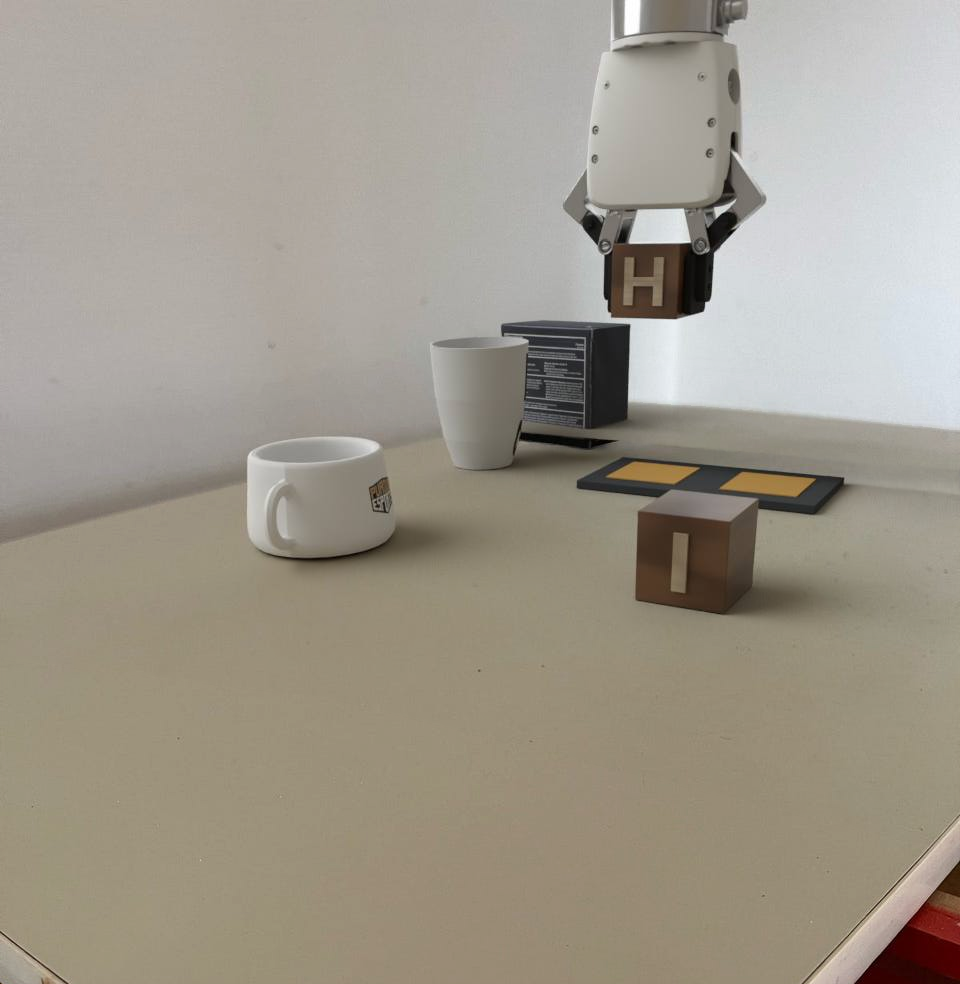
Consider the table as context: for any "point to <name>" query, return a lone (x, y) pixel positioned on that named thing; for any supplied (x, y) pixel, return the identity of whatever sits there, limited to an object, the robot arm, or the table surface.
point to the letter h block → (648, 279)
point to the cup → (480, 398)
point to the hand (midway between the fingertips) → (656, 309)
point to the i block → (696, 550)
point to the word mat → (715, 483)
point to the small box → (574, 376)
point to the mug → (318, 497)
